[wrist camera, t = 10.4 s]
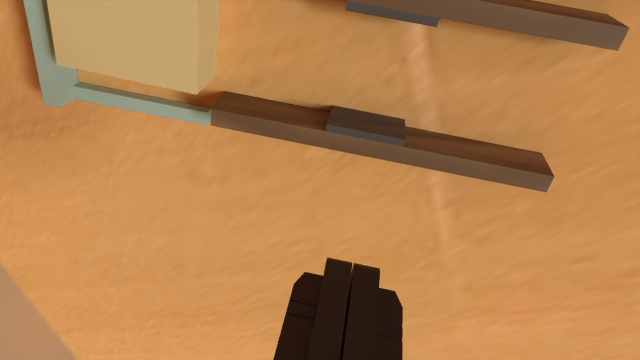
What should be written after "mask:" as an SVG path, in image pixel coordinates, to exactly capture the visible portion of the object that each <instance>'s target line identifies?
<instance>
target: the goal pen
mask: <svg viewBox="0 0 640 360" xmlns="http://www.w3.org/2000/svg"><path fill="white" fill-rule="evenodd" d="M23 1H24V6H25V11H26V16H27V21H28V26H29V31H30V37H31V42H32V47H33V52H34V57H35V62H36V67H37V72H38V77H39V82H40V87H41V92H42V97H43V102H44V105H49V106H54V107H59V108H61V107H63V106H64V105H66V104H67V103H69V102H70V101H72V100H73V99H76V100H81V101H86V102H91V103H96V104H102V105H107V106H112V107H117V108H122V109H127V110H132V111H137V112H142V113H147V114H152V115H157V116H162V117H167V118H172V119H177V120H182V121H187V122H192V123H197V124H202V125H208V124H209V123H210V122H211V108H207V107H202V106H197V105H192V104H187V103H182V102H177V101H172V100H167V99H162V98H157V97H152V96H147V95H142V94H136V93H131V92H126V91H121V90H116V89H111V88H106V87H101V86H96V85H91V84H86V83H81V82H78V75H77V69H73V68H68V67H64V66H59V65H57V62H56V56H55V49H54V43H53V37H52V31H51V24H50V18H49V12H48V5H47V0H23Z"/></svg>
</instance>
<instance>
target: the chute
mask: <svg viewBox="0 0 640 360" xmlns="http://www.w3.org/2000/svg"><path fill="white" fill-rule="evenodd" d="M346 1H348V2H347V8H346V10H348V11H353V12H358V13H364V14H369V15H375V16H380V17H385V18H391V19H396V20H401V21H407V22H412V23H417V24H423V25H428V26H434V27H437V25H438V21H439V18H444V19H449V20H454V21H460V22H465V23H471V24H476V25H481V26H487V27H492V28H498V29H503V30H508V31H514V32H519V33H525V34H530V35H535V36H541V37H546V38H552V39H557V40H562V41H568V42H573V43H579V44H584V45H589V46H595V47H600V48H606V49H611V50H616V51H618V50H619V48H620V46H621V44H622V42H623V40H624V38H625V36H626V34H627V32H628V30H629V27H627V26H626V25H624V24H622V23H621V22H619V21H617V20H616V19H614V18H613V17H611V16H609V15H608V14H603V13H597V12H592V11H586V10H581V9H575V8H570V7H564V6H559V5H553V4H548V3H542V2H537V1H531V0H346ZM211 126H216V127H221V128H226V129H231V130H236V131H241V132H246V133H251V134H256V135H261V136H267V137H272V138H277V139H282V140H287V141H292V142H297V143H302V144H307V145H312V146H317V147H322V148H327V149H332V150H337V151H342V152H347V153H352V154H357V155H362V156H367V157H372V158H377V159H382V160H387V161H392V162H397V163H402V164H407V165H412V166H417V167H422V168H427V169H432V170H437V171H442V172H447V173H452V174H457V175H462V176H467V177H472V178H477V179H482V180H487V181H492V182H497V183H502V184H507V185H512V186H517V187H522V188H527V189H532V190H537V191H542V192H547V190H548V188H549V186H550V184H551V182H552V180H553V178H554V175H553V173H552V171H551V169H550V167H549V166H548V164H547V162H546V160H545V158H544V156H543V154H542V153H537V152H532V151H527V150H522V149H517V148H512V147H507V146H502V145H497V144H491V143H486V142H481V141H476V140H471V139H466V138H461V137H456V136H451V135H446V134H440V133H435V132H430V131H425V130H420V129H415V128H410V127H405V120H404V119H399V118H394V117H389V116H384V115H379V114H373V113H368V112H363V111H358V110H353V109H348V108H343V107H338V106H332V109H331V112H328V111H323V110H318V109H313V108H308V107H303V106H297V105H292V104H287V103H282V102H277V101H272V100H267V99H262V98H257V97H251V96H246V95H241V94H236V93H231V92H225V93H224V94H223V95H222V96H221V97H220V99H219V100H218V101H217V102H216V103H215V105H214V106H213V107H212V108H211Z"/></svg>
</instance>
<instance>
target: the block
mask: <svg viewBox="0 0 640 360" xmlns="http://www.w3.org/2000/svg"><path fill="white" fill-rule="evenodd" d="M47 5H48V12H49V18H50V24H51V31H52V37H53V43H54V49H55V56H56V62H57V65H59V66H64V67H68V68H73V69H78V70H83V71H87V72H92V73H97V74H101V75H106V76H111V77H116V78H120V79H125V80H130V81H135V82H139V83H144V84H149V85H153V86H158V87H163V88H168V89H172V90H177V91H182V92H186V93H191V94H196V95H197V94H198V93H199V92H200V91H201V90H202V89H203V88H204V87H205V86H206V85H207V84H208V83H209V82H210V81H211V80H212V78H213V77H214V76H215V75H216V74H217V56H218V31H219V5H220V0H47Z"/></svg>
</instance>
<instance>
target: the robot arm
mask: <svg viewBox="0 0 640 360" xmlns="http://www.w3.org/2000/svg"><path fill="white" fill-rule="evenodd" d="M351 270H352V272H351ZM379 279H380V269H379V268H375V267H370V266H365V265H361V264H356V263H354V265H353V268H352V263H351V262H346V261H342V260H337V259H332V258H328V257H327V261H326V266H325V270H324V275H323V276H321V275H317V274H312V273H307V272H305V273H304V274H303V275H302V276H301V277H300V278H299V279H298V280H297V281H296V282H295V283H294V286H293V289H292V293H291V297H290V301H289V304H288V308H287V311H286V316H285V319H284V323H283V326H282V330H281V334H280V337H279V341H278V345H277V348H276V352H275V356H274V359H273V360H402V317H403V307H402V305H401V303H400V301H399V299H398V297H397V294H396V292H395V291H391V290H387V289H382V288H379Z"/></svg>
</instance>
